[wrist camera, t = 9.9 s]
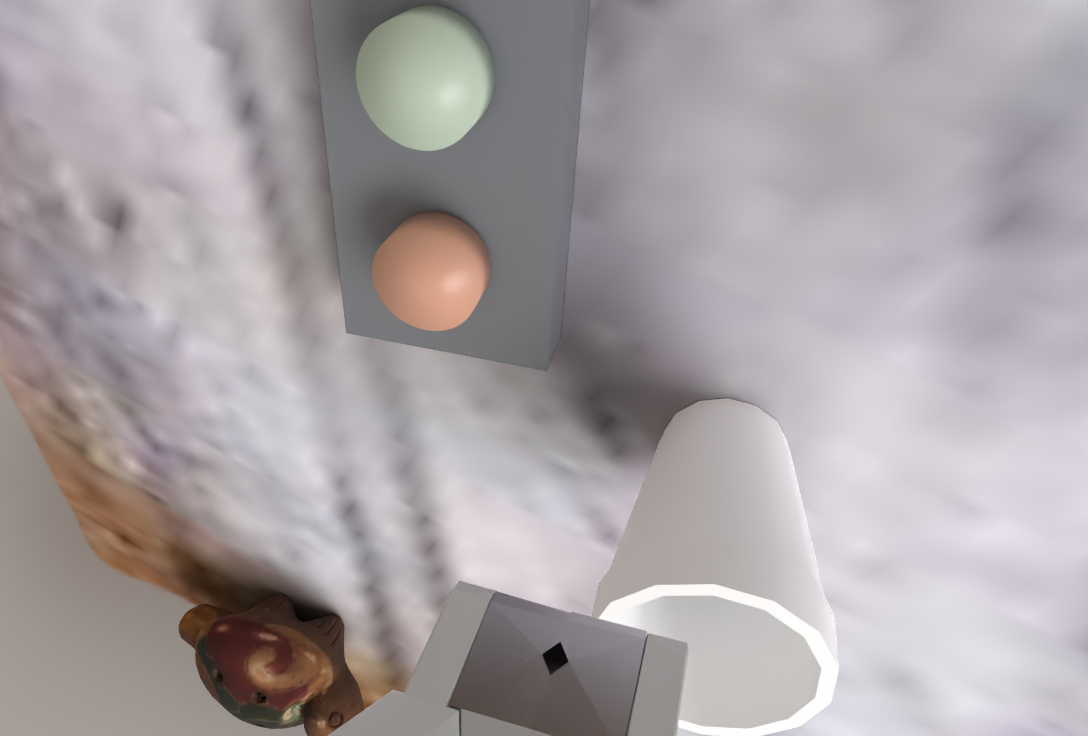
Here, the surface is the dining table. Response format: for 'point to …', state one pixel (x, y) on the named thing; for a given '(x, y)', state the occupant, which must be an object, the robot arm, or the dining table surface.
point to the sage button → (425, 77)
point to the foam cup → (728, 573)
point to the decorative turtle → (274, 665)
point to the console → (464, 172)
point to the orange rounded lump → (431, 271)
